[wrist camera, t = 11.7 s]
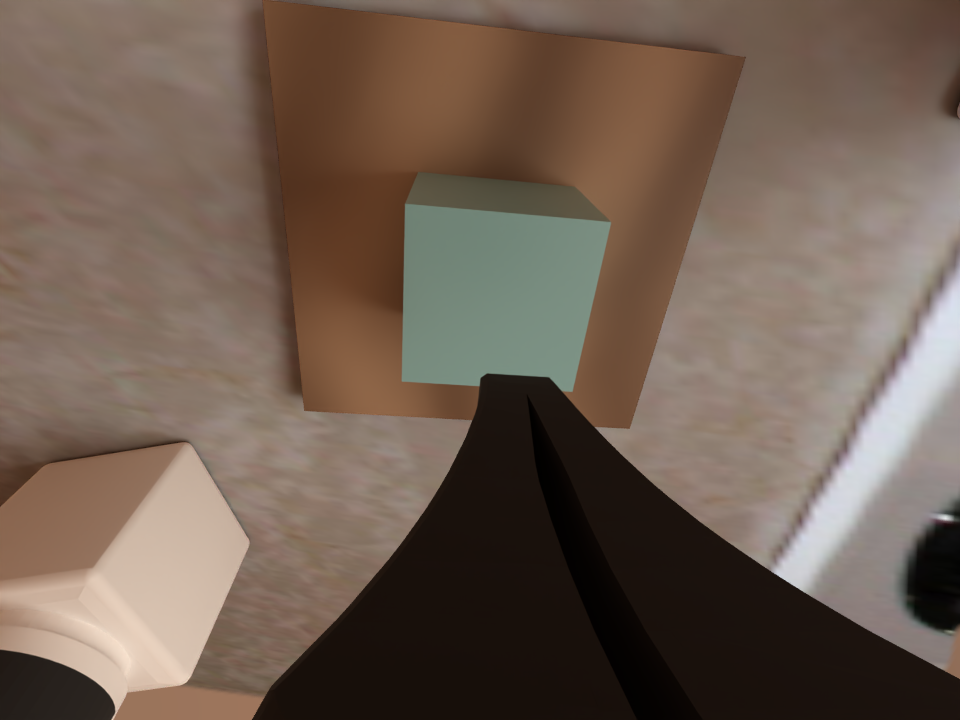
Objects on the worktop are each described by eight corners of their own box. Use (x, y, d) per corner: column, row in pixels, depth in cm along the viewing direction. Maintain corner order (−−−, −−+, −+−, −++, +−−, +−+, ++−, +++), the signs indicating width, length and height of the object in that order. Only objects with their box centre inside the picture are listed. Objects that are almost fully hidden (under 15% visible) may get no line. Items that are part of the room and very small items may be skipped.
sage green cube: (575, 186, 16) (611, 221, 12) (549, 326, 19) (572, 391, 15) (418, 171, 16) (405, 203, 12) (413, 316, 19) (401, 381, 15)
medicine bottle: (43, 461, 23) (-305, 787, 12) (191, 437, 22) (-40, 753, 12) (125, 560, 26) (-92, 878, 16) (254, 541, 26) (117, 854, 16)
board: (729, 57, 16) (745, 56, 15) (622, 415, 22) (629, 428, 22) (274, 3, 14) (262, -1, 14) (310, 397, 21) (304, 410, 21)
